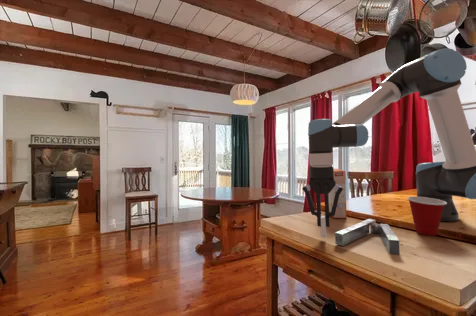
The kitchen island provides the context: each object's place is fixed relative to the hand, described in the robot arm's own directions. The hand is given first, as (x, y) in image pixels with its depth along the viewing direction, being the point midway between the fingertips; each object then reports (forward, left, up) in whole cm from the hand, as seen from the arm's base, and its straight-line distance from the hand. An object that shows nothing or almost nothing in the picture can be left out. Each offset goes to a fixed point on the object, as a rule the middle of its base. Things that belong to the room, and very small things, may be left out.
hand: (323, 235), depth 82 cm
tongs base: (-18, -4, -2) cm, 18 cm away
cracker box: (-4, -35, -2) cm, 35 cm away
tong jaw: (-10, -5, -1) cm, 12 cm away
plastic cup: (-33, -16, -2) cm, 37 cm away
